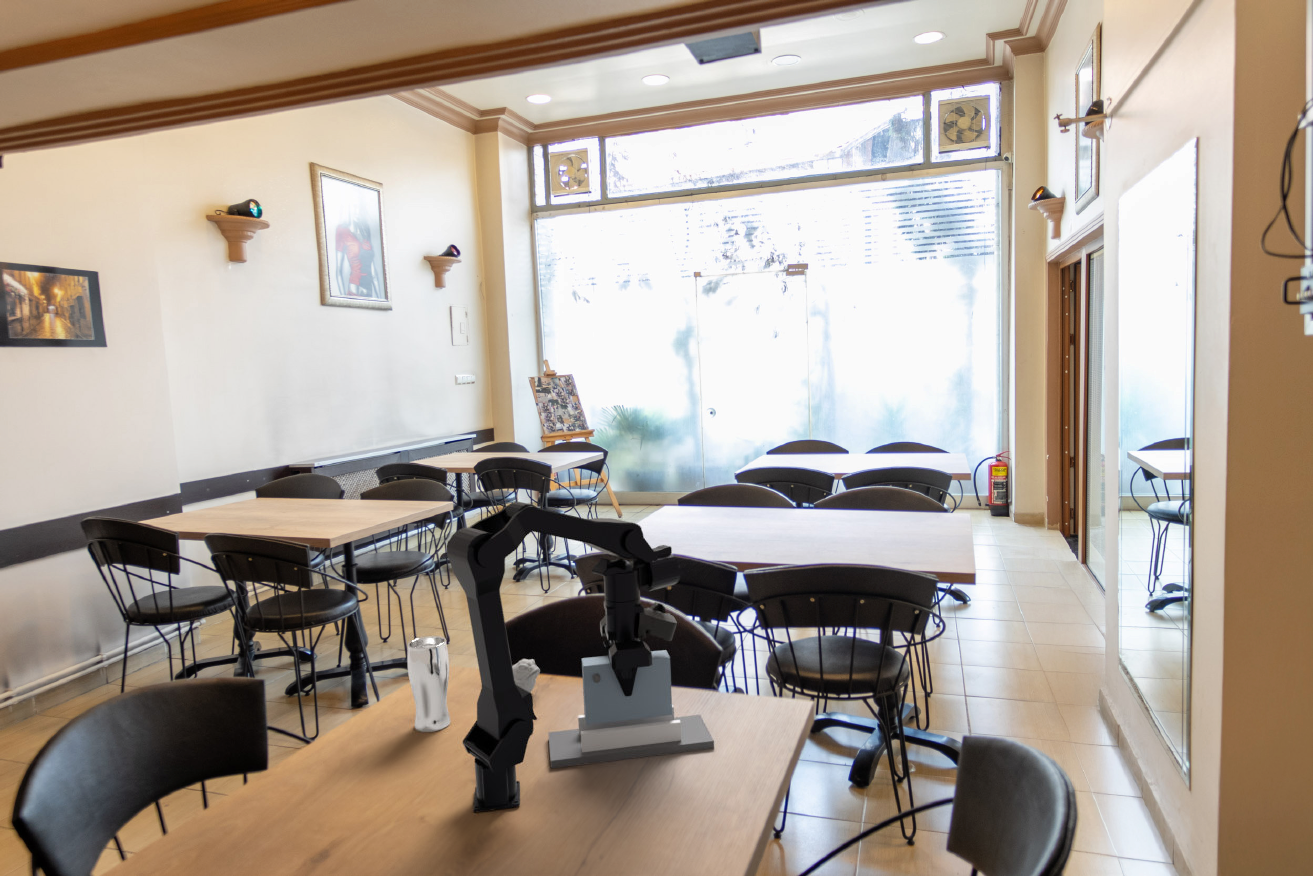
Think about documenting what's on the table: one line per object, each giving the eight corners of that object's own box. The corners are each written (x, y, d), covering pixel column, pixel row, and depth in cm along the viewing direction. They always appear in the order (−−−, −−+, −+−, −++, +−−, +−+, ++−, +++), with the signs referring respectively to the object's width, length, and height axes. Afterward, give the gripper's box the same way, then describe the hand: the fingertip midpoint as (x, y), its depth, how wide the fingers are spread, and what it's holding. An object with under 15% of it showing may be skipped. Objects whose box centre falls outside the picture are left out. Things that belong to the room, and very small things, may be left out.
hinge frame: (714, 748, 129) (713, 722, 128) (551, 768, 124) (549, 742, 124) (700, 721, 138) (699, 697, 138) (548, 739, 134) (547, 715, 134)
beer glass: (441, 734, 138) (435, 649, 136) (404, 732, 139) (398, 648, 138) (459, 717, 144) (454, 636, 143) (424, 715, 146) (418, 635, 144)
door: (673, 716, 130) (670, 658, 129) (586, 726, 127) (583, 667, 127) (668, 706, 134) (666, 650, 133) (584, 715, 132) (581, 658, 131)
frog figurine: (527, 704, 149) (525, 667, 148) (499, 697, 152) (497, 661, 152) (548, 692, 154) (546, 656, 153) (520, 685, 158) (518, 651, 157)
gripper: (683, 609, 121) (686, 709, 123) (661, 578, 140) (665, 665, 141) (609, 616, 119) (614, 717, 121) (597, 584, 138) (602, 672, 139)
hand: (626, 691), depth 131 cm, fingers closed on door, 4 cm apart
